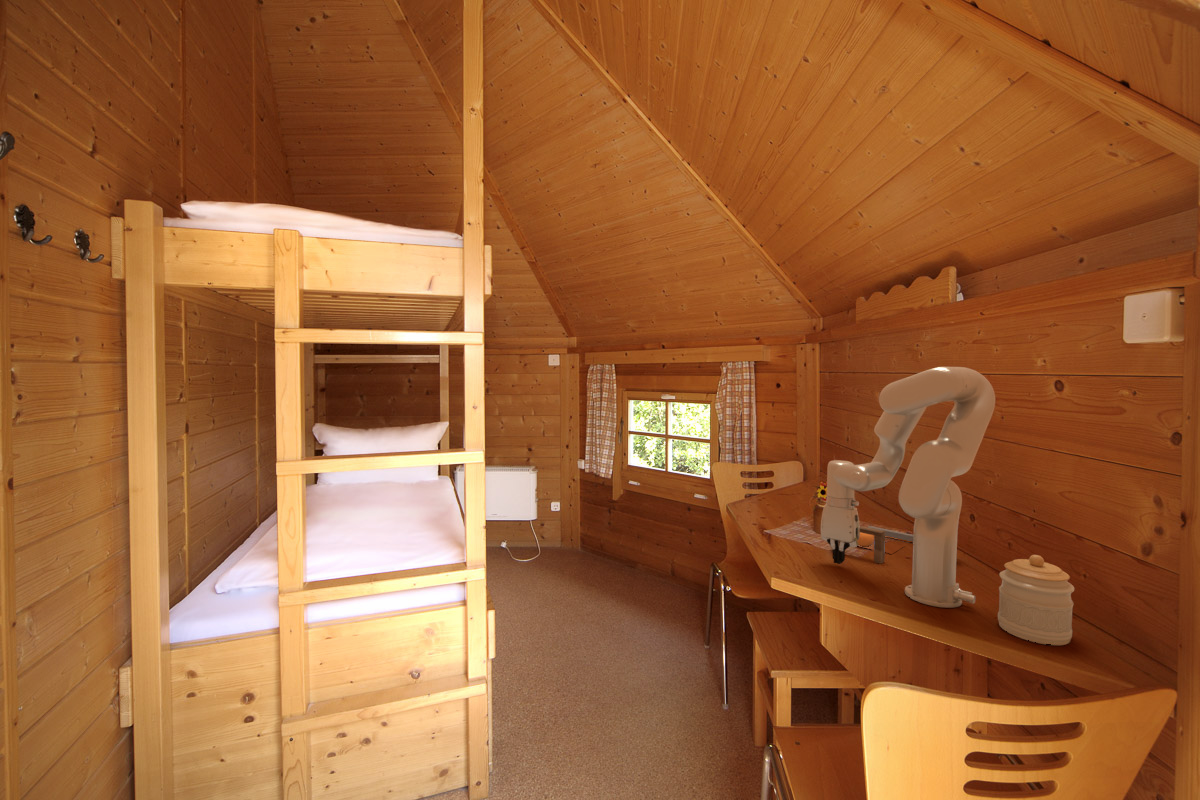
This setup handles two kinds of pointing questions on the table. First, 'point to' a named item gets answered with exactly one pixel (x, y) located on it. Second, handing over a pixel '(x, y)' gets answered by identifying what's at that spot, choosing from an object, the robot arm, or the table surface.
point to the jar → (1036, 601)
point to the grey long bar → (895, 534)
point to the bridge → (876, 543)
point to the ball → (865, 540)
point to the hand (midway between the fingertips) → (838, 562)
